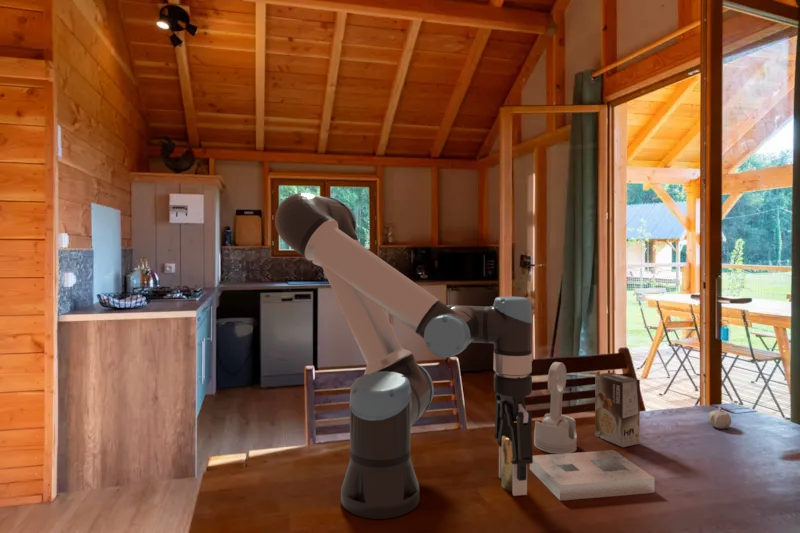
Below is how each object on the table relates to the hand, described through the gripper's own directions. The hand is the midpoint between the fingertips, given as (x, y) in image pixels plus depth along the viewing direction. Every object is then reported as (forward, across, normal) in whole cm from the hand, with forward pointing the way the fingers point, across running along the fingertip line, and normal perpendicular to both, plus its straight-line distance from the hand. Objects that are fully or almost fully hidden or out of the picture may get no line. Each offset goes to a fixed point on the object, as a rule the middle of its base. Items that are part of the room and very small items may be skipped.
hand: (512, 485), depth 102 cm
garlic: (+1, +24, -69) cm, 73 cm away
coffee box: (+1, +20, -36) cm, 41 cm away
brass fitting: (0, 0, 0) cm, 0 cm away
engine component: (+1, +19, -19) cm, 27 cm away
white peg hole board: (0, 0, -17) cm, 17 cm away
